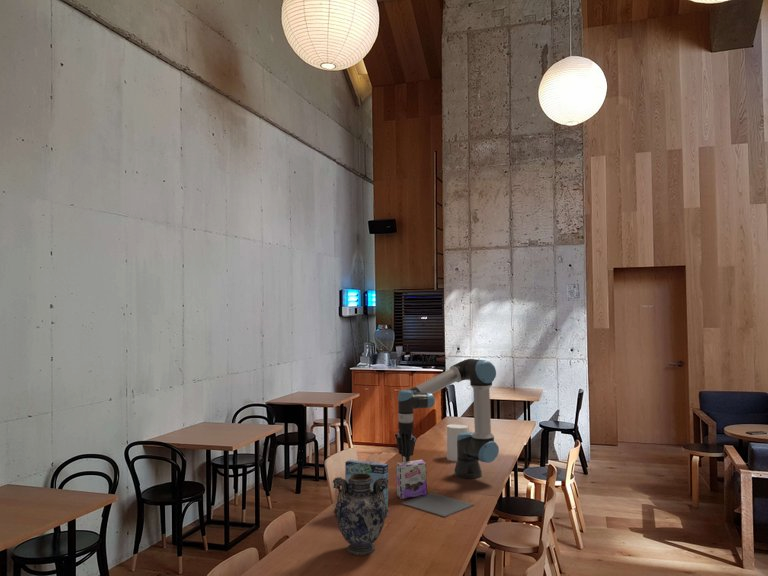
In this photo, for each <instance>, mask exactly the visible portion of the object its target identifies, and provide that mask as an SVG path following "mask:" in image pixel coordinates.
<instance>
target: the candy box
mask: <svg viewBox="0 0 768 576" xmlns="http://www.w3.org/2000/svg"><path fill="white" fill-rule="evenodd" d="M427 480H428V479H427V463H426V462H425V461H424V460H423V459H417V460H410V461H408V462H402V461H401V462H396V493H397V494H396V495H397V496H398V498H399V499H400V500H403V499H410V498H411V499H412V498H417V497H420V496H424V495H427V494H428V485H427V483H428V482H427Z"/></svg>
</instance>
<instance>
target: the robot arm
mask: <svg viewBox="0 0 768 576" xmlns="http://www.w3.org/2000/svg"><path fill="white" fill-rule="evenodd" d="M496 377H497V369H496V367H495V365H494V364H493V362H491V361H489V360H485V359H475V358H468V359H464V360H461V361H459V362H457V363H454V364H453V365H451V366H450V367H449V369H447V370H446V371H443V372H442V373H440V374H439V373H438V374H437V375H436V376H434V377H431V378H429V379H428V380H425V381H423V382H422V383H420V384H418V385H416V386H414V387H412V388H408V389H405V388H404V389H401V390H399V391H398V396H397V409H398V411H397V412H398V416H397V419H398V423H397V424H398V425H397V426H398V427H397V429H398V433H396V434H394V437H395V439H396V445H397V449H398V454H399V455H401V462H408V461H411V456H413V455H414V452H415V451H414V450H415V446H416V441H417V439H418V437H416V436H414V433H413V430H414V410H417V409H428V408H432V407H434V405H435V399H436V398H435V396H434V394H435V393H437V392H439V391H440V390H442V389H445V388H446V387H449V386H450V385H452V384H454V383H460V382H462V381H470V383H469V384H470V387H471V388H472V389H473V417H474V418H473V419H474V421H473V422H474V423H473V424H474V432H469V433H461V434H458V436H457V461H456V463H455V468H454V470H453V472H454V476H455V477H457V478H461V479H478V478H481V477H482V475H483V471H482V468H481V465H480V462H481V463H488V464H490V463H493V462H494V461H495V460H496V458H497V457H498V455H499V451H500V450H499V445H498V444H497V442H495V436H494V434H493V433H492V431H491V430H492V425H491V402H490V401H491V397H490V395H491V394H490V388H491V387H492V386H493V382H494V380H495V379H496Z"/></svg>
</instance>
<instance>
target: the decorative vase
mask: <svg viewBox="0 0 768 576" xmlns="http://www.w3.org/2000/svg"><path fill="white" fill-rule="evenodd" d="M373 481H374V480H373V478H371V476H370V475H368V474H354V475H352V476H351V478H349V480H348V482H349V483H350V484H351V485H352V487H351V489H352V490H351V491H348V488H349V486H348V482H347V481H346V480H345V479H344V478H343V477H341V476H339V477H338V476H337V477H334V479H333V480H332V483H333V489H338V493H337V497H336V504H335V508H334V510H333V514H334V517H335V518H336V521H337V525H338V528H339V531H340V533H341V535H342V536H343V539H344V540H345V541H346V542H347V543H348V544H349V545H348V546H347V548H346V549H347V552H348V553H349V554H351V555H355V556H367V555H370V554H372V553H374V552H375V551H376V550H375V549H376V548H375V547H376V546H375V545H374V544H373V543H374V542H376V541H377V539H378V538H379V536H380V535H381V532H382V530H383V528H384V524H385V520H386V518H387V517H388V516H387V513H388V514H389V508H387V507H386V503H385V495H384V492H383V489H386V488H388V489H389V479H388V480H387V478H384V477H383V478H379V479H378V480H376V481H375V482H374V484H373V491H371V490H370V488H371V487H370V484H371V483H373ZM380 486H381V487H382V489H381V488H380ZM386 516H387V517H386Z"/></svg>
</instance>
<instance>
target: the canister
mask: <svg viewBox="0 0 768 576" xmlns="http://www.w3.org/2000/svg"><path fill="white" fill-rule="evenodd" d="M469 427H470V426H469V425H468V424H463V423H451V424H448V425H446V460H447V461H450V460H451V462H457V436H458V434H461V433H470V428H469Z"/></svg>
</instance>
